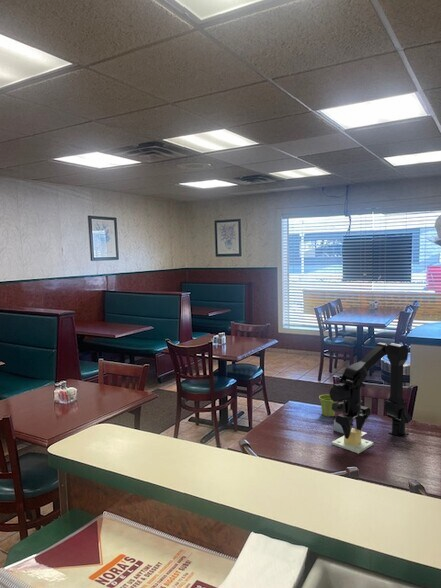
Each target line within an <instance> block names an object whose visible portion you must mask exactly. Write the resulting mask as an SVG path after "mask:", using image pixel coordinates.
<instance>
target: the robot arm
mask: <svg viewBox="0 0 441 588" xmlns="http://www.w3.org/2000/svg"><path fill="white" fill-rule="evenodd" d="M385 355H386V357H387V359H388V362H389V363H390V379H389V381H390V388H389V392H390V393H389V397H388V398H387V400H384V407H383V408H384V410H385V413H386V416H387V418H389V419H391V429H390V430H389V431H388V434H391V435H394V436H397V437H401V438H404V437H405V436H407V435H408V434H409V431H406V429H407V424H409V423H411V421H412V419H413V418H412V416H411V414H409V412H408V411H407V409H408V408H407V404H406V402H405V400H404V398H403V393H404V392H403V391H404V390H403V387H404V386H403V385H404V364H405V363H406V362H407V360H408V356H409V348H408V347H407V346H406V345H403V344H399V343H394V342H391V343H389V344H388V343H385V342H378V343H377V344H376V345H375V347H374V348H372V349H371V350H370V351H369V352H368V353H367V354H366V355H365V356H363V358H362V359H360V360H359V361H358V362H354V363H352V364H350V365H349V366H347V367H346V368H345V369H344V372H343V374H342V375H341V377H340V379H339V381H338V383H334V384H333V385H332V387H331V388H330V390H329V395H330V397H331V399H332V401H334V402H336V403H332V409H333V411H335V413H338V412H341V413H339V414H337V415H336V416H334V420H335V422H337V423H338V424H340V425H341V426H342V429H343V432H344V435H345V438H347V439H348V438H349V436H350V433H351V430H352V428H353V426H354V418H355V424H356V425H355V426H356V428H355V429H357V430H360V431H362V429H363V427H364V425H365V423H366V422H367V420H368V418H369V417H370V415H371V414H372V413H371V409H370V408H369V406H364V405H362V404H363V403H364V400H362V388H365V387H366V384H364V381H365V379H366V378H367V377H368V372H369V371H370V370H371V368H373V367H374V366H375V365H376V364H378V362H379V361H380V360H381V359H382V358H383V357H384V356H385ZM344 435H343V436H344Z"/></svg>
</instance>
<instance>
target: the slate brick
mask: <svg viewBox="0 0 441 588" xmlns="http://www.w3.org/2000/svg"><path fill="white" fill-rule="evenodd" d="M333 431H334V432H337V433H340V434H344V432H343V429H342V426H341V425H340V424H338V423H337V422H335V419H334V420H333Z"/></svg>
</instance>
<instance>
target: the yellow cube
mask: <svg viewBox="0 0 441 588" xmlns="http://www.w3.org/2000/svg"><path fill="white" fill-rule="evenodd" d="M362 432H363V431H362V430H361V431H360V430H357V428H353V427H352V430H351V433H350V436H349V438H348V439H347V438H345V435H343V436H344V442H346V443H348V444H351V445H354V446H355V445H357V444H359V443H361V439H362V437H361V434H362Z"/></svg>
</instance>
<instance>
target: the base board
mask: <svg viewBox="0 0 441 588" xmlns="http://www.w3.org/2000/svg"><path fill="white" fill-rule="evenodd" d="M331 445H333V446H335V447H339V448H341V449H344V450H348V451H350V452H353V453H356V454H358V455H359V454H360V453H362V452H364V451H365V450H367V449H368V448H370V447H372V446H374V442H373V441H371V440H367V439H364V438H361V443H359V444H357V445H355V446H354V445H351V444H348V443H346V442H344V435H343V436H341V437H339V438H337V439H335V440H332V441H331Z"/></svg>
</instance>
